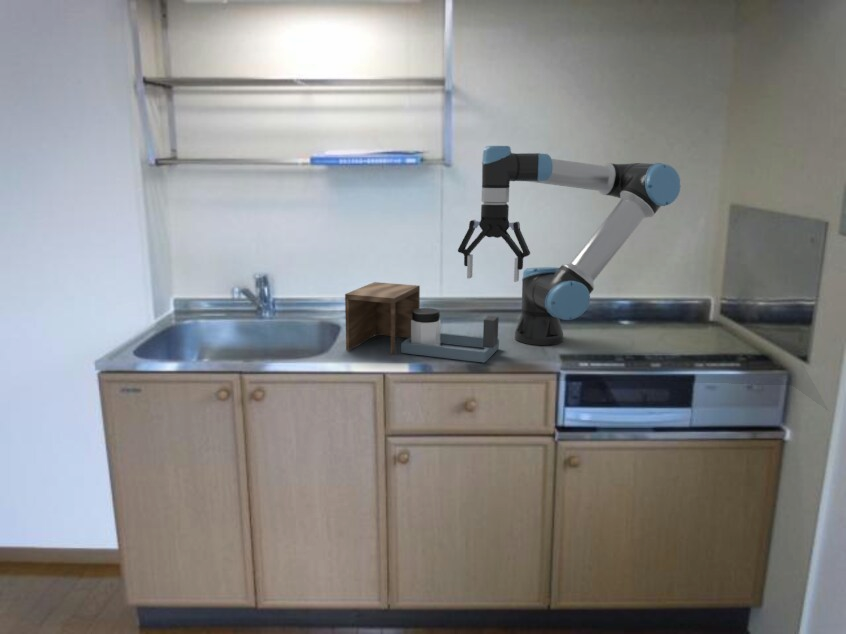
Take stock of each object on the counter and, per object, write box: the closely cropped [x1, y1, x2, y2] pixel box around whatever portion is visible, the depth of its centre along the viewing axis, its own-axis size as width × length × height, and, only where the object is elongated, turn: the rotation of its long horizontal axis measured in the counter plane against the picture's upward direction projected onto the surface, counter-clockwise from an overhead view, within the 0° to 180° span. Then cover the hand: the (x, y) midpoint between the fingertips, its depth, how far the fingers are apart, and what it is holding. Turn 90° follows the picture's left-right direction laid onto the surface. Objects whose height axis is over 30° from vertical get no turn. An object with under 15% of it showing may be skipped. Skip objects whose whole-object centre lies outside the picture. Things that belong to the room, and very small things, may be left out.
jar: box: [411, 307, 442, 346], centre depth 199 cm, size 9×8×12 cm
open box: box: [344, 281, 421, 356], centre depth 205 cm, size 16×20×17 cm
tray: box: [400, 315, 500, 363], centre depth 198 cm, size 26×15×11 cm, turn 69°
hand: (492, 279), depth 190 cm, fingers open, 13 cm apart
